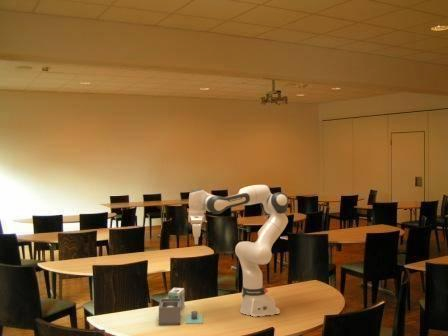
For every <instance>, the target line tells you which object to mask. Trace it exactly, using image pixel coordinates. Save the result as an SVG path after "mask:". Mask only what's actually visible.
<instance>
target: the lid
mask: <svg viewBox="0 0 448 336" xmlns="http://www.w3.org/2000/svg"><path fill="white" fill-rule="evenodd" d="M202 324H204V314H203V313H199V314H198V311H197V310H193V311H191V312H190V314H185V325H202Z"/></svg>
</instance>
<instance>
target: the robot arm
mask: <svg viewBox="0 0 448 336" xmlns="http://www.w3.org/2000/svg"><path fill="white" fill-rule="evenodd" d="M257 204H259V205H260V208H261V210H262V212H263V213H264V214H265V215H267V216H269V217H268V219H267V220H266V221H265V222H264V224H263V225H262V226H261V227H260V229H259V230H258V231H257V240H256V241H255V242H252V241H247V240H246V241H239V242H238V243H237V244H236V245H235V250H234V252H235V256H237V258H238V261H239V263H240V267H241V270H242V271H241V272H242V286H241V297H242V300H241V304H240V305H241V306H240V310H239V312H240V313H241V314H243V315H245V314H246V316H250V315H251V316H250V317H252V316H253V317H254V318H258V317H257V316H260V317H266V316H265V315H271V316H274V315H273V314H278V313H280V314H281V310H280V308H279V307H277V304H276V301H275V299H273V297H272V296H270V295H269V294H267V293H268V292H269V291H268V289H267V288H266V287H265V286H263V277H264V275H263V272H262V270H261V269H260V265H267V264H269V263H270V262H271V259H272V257H273V256H272V255H273V254H272V247H273V245H274V243H276V241H277V240H278V238H279V237H280V236H281V234H283V231H284V230H285V229H286V227H287V225H288V223H289V219H288V216H287V215H286V214H285V213H287V211H288V206H289V196H288V195H287V194H286V193H284V192H279V191H278V192H275V193H273V194H272V193H271V190H270V188H269V186H268V185H266V184H253V185H249V186H244V187H242V188H240V189H239V191H238V193H237V194H233V195H229V196H221V195H214V194H211V193H210V192H207V191H205V190H204V189H202V188H198V189H194V190H191V191H190V192H189V196H188V207H189V208H188V209H189V210H188V222H190V225H191V227H192V237H194V245H199V238H200V237H201V232H202V231H201V230H202V224H203V222H205V212H206V211H207V212H209V213H212V214H213V215H219V214H222V213H223V212H225V211H227V209H231V208H233V207H234V208H235V207H239V206H252V205H257Z"/></svg>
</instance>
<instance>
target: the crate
mask: <svg viewBox="0 0 448 336" xmlns="http://www.w3.org/2000/svg"><path fill="white" fill-rule="evenodd" d="M181 311H182V309H181V299H169V298H160V301H159V305H158V326H179V325H181V314H182V313H181Z"/></svg>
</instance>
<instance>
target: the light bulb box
mask: <svg viewBox="0 0 448 336" xmlns="http://www.w3.org/2000/svg"><path fill="white" fill-rule="evenodd" d="M167 295H168V299H181V310H183V309H184V307H185V288H184V287H173V288H171V290H169V292H168V293H167Z"/></svg>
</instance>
